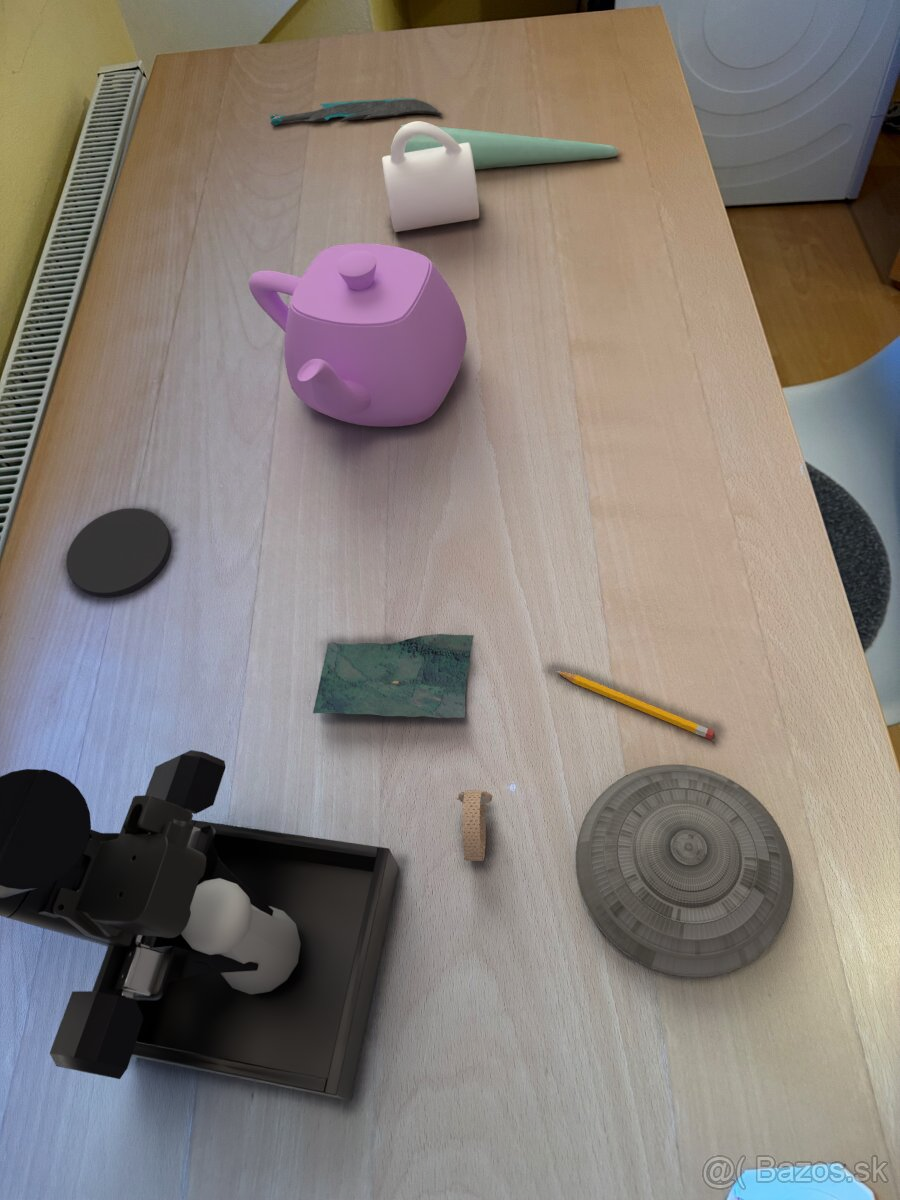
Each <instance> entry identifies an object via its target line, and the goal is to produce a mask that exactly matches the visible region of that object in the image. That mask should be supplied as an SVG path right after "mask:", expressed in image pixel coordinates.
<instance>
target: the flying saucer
mask: <svg viewBox="0 0 900 1200" xmlns="http://www.w3.org/2000/svg"><path fill="white" fill-rule="evenodd" d="M575 872H576V878H577V879H576V880H577V884H578V887H579V892H580V895H581V898H582V900H583V902H584V904H585V907H586V908H587V911H588V913H589V914H590V917H591V918H592V920H593V921H594V923H595V924H596V926H597V927H598V928H599V929H600V931H601V932H602V934H604V936H605V937H606V938H607V939H608V940H609V941H610V942H611V943H612V944H613V945H614V946H615V947H616V948H617V949H619V950H620V951H621V952H622V953H624V954H625V955H627V956H628V957H629V958H631V959H633V960H634V961H636V962H638V963H639V964H642V965H643V966H646V967H647V968H650V969H653V970H655V971H658V972H661V973H665V974H667V975H672V976H677V977H686V978H707V977H713V976H720V975H724V974H727V973H730V972H732V971H735V970H738V969H740V968H742V967H744V966H746V965H747V964H749V963H751V962H753V961H754V960H755V959H757V958H759V956H761V955H762V954H763V953H764V952H765V951H766V950H767V949H768V948H769V947H770V946H772V944H773V942H775V940H776V938H777V937H778V936H779V935H780V933H781V931H782V929H783V927H784V925H785V923H786V921H787V919H788V916H789V913H790V910H791V906H792V902H793V896H794V884H795V879H794V878H795V877H794V876H795V875H794V867H793V861H792V857H791V853H790V848H789V846H788V843H787V841H786V838H785V836H784V834H783V832H782V830H781V828H780V826H779V825H778V823H777V822H776V820H775V818H774V817H773V816H772V814H771V813H770V811H769V810H768V809H767V808H766V807H765V806H764V805H763V804H762V803H761V801H759V799H758V798H757V797H756V796H754V795H753V794H752V793H751V792H750V791H749V790H747V789H746V788H744V787H743V786H742V785H740V784H739V783H738V782H736V781H734V780H732V779H730V778H728V777H726V776H725V775H723V774H720V773H718V772H715V771H713V770H709V769H706V768H703V767H698V766H694V765H687V764H661V765H660V764H659V765H653V766H649V767H645V768H642V769H639V770H635V771H632V772H631V773H628V774H626V775H625V776H623V777H621V778H619V779H617V780H616V781H615V782H613V783H612V784H611V785H610V786H608V787H607V788H606V789H604V791H603V792H602V793H601V794H600V795H599V796H598V797H597V798H596V800H595V801H594V802H593V803H592V805H591V806H590V807H589V809H588V811H587V813H586V815H585V817H584V819H583V822H582V823H581V827H580V830H579V833H578V835H577V841H576V848H575Z"/></svg>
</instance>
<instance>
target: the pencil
mask: <svg viewBox="0 0 900 1200" xmlns="http://www.w3.org/2000/svg"><path fill="white" fill-rule="evenodd" d="M555 671H556V673H557V674H558V675H561V676H562V677H563V678H565V679H566V680H568V681H569V682H571V683H572V684H575V685H577V686H580V687H582V688H585V689H587V690H589V691H592V692H594V693H597V694H599V695H602V696H604V697H606V698H608V699H611V700H614V701H617V702H618V703H621V704H624V705H626V706H628V707H631V708H632V709H636V710H638V711H640V712H643V713H645V714H648V715H650V716H652V717H655V718H657V719H659V720H662V721H664V722H667V723H670V724H672V725H674V726H676V727H679V728H682V729H684V730H687V731H689V732H691V733H693V734H696V735H698V736H701V737H703V738H706V739H707V740H712V739H713V737H714V734H715V730H712V729H710V728H707V727H705V726H703V725H701V724H698V723H696V722H693V721H691V720H689V719H687V718H686V719H685V718H683V717H681V716H679V715H676V714H673V713H671V712H669V711H666V710H664V709H661V708H659V707H656V706H654V705H651V704H649V703H647V702H644V701H642V700H640V699H637V698H635V697H632V696H630V695H627V694H625V693H622V692H620V691H617V690H615V689H612V688H610V687H608V686H605V685H603V684H600V683H597V682H595V681H593V680H591V679H588V678H585V677H583V676H581V675H578V674H574V673H569V672H565V671H560V670H555Z"/></svg>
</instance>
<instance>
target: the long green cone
mask: <svg viewBox="0 0 900 1200" xmlns="http://www.w3.org/2000/svg"><path fill="white" fill-rule="evenodd" d="M404 125H406V124H401V126H400V128H402V127H403V126H404ZM435 126H436V127H438V128H440V129H442V130H443V131H445V132H446V133H447V134H449V135H450V136H451V137H452V138H453V139H454V140H455V141H456V142H457V143H458V144H461V143H467V142H468V143H469V144H470V146H471V150H472V156H473V162H474V169H475V171H476V170H485V169H494V168H505V167H506V168H507V167H519V166H529V165H542V164H553V163H564V162H566V163H567V162H575V161H576V162H577V161H589V160H599V159H608V158H609V159H610V158H615V157H617V156H618V155H619V149H618V147H617V146H615V145H611V144H604V143H595V142H585V141H577V140H568V139H559V138H558V139H557V138H549V137H541V136H530V135H521V134H512V133H503V132H493V131H485V130H484V131H483V130H477V129H476V130H475V129H466V128H457V127H447V126H437V125H435ZM437 147H443V145H442V144H441V143H440V142H438V141H437V140H435V139H433V138H431V137H429V136H425V135H416V136H414V137H412V138H410V139H409V141H408V142H407V144H406V147H405V152H404V153H407V152H413V151H419V150H425V149H431V148H437Z"/></svg>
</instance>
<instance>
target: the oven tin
mask: <svg viewBox="0 0 900 1200" xmlns="http://www.w3.org/2000/svg"><path fill="white" fill-rule="evenodd" d="M191 823H192V824H193V825H194V827H196V828H201V827H205V826H208V825H210V826H212V827H213V828H214V829H215V837H214V840H213V844H214V847H215V850H216V853H217V855H218V857H219V859H220V860H221V862H222V863H223V864H224V865H225V866H226V867H227V868H228V870H229V871H230V872H231V873H232V874H233V875H234V876H235V877H236V878H237V879H238V880H240V881H241V882H242V883H243V884H244V885H245V886H246V887H248V888H249V889H250V890H251V891H252V892H253V893H254V894H255V895H257V896H258V897H259V898H260V899H261V900H262V901H263V902H265V903H266V904H267V905H268V906H271V907H273V908H276V909H279V910H282V911H284V912H285V913H286V914H287V915H288V916H289V917H290V918H291V919H292V920H293V921H294V922H295V924H296V927H297V931H298V935H299V939H300V943H301V946H300V952H299V958H298V964H297V965H296V967H295V968H294V970H293V971H292V973H291V974H290V976H289V977H288V979H287V980H286V981H285V982H283V983H282V984H281V985H279V986H278V987H276V988H275V989H273V990H272V991H270V992H264V993H258V994H248V993H245V992H242V991H240V990H237V989H234V988H232V987H231V985H230V984H229V983H228V982H227V981H226V979H225V978H224V977H223V976H222V975H221V973H210V974H201V975H195V976H191V977H186V978H182V979H178V980H175V981H172V982H169V983H168V985H167V987H166V990H165V993H164V994H163V996H162V997H161V998H160V999H159V1000H136V1001H137V1004H138V1006H139V1008H140V1011H141V1013H142V1015H143V1017H144V1019H143V1022H142V1025H141V1028H140V1031H139V1034H138V1037H137V1040H136V1043H135V1046H134V1050H133V1053H132V1056H131V1058H136V1059H142V1060H146V1061H151V1062H155V1063H160V1064H166V1065H171V1066H176V1067H181V1068H186V1069H190V1070H195V1071H201V1072H206V1073H211V1074H216V1075H220V1076H224V1077H229V1078H235V1079H240V1080H245V1081H250V1082H255V1083H260V1084H264V1085H268V1086H269V1085H270V1086H275V1087H280V1088H284V1089H290V1090H295V1091H299V1092H303V1093H309V1094H314V1095H319V1096H324V1097H329V1098H334V1099H339V1100H344V1101H349V1102H351V1101H352V1098H353V1094H354V1088H355V1084H356V1079H357V1074H358V1070H359V1069H358V1068H359V1064H360V1061H361V1060H360V1059H361V1054H362V1049H363V1044H364V1041H365V1034H366V1030H367V1025H368V1020H369V1015H370V1010H371V1006H372V1001H373V997H374V991H375V987H376V983H377V977H378V972H379V967H380V962H381V958H382V953H383V948H384V943H385V938H386V934H387V928H388V923H389V919H390V914H391V911H392V910H391V909H392V905H393V900H394V896H395V895H394V894H395V890H396V885H397V880H398V875H399V870H400V866H399V864H398V862H397V860H396V858H395V856H394V855H393V853H392V851H391V849H390V848H389V847H382V846H375V845H368V844H361V843H355V842H347V841H341V840H336V839H335V840H333V839H327V838H321V837H314V836H306V835H300V834H293V833H286V832H278V831H273V830H265V829H259V828H251V827H244V826H238V825H231V824H225V823H217V822H210V821H204V820H196V819H192V820H191ZM144 945H147V946H150V948H157V947H168V946H176V947H179V948H182V949H186V950H190V951H197V950H195V949H192V947H191V946H190V945H189V944H188V942H187V941H186V940H185V939H184V938H183V936H182V934H180V935H178V936H177V937H174V938H164V937H158V936H146V939H145V942H144ZM197 952H200V951H197Z"/></svg>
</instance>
